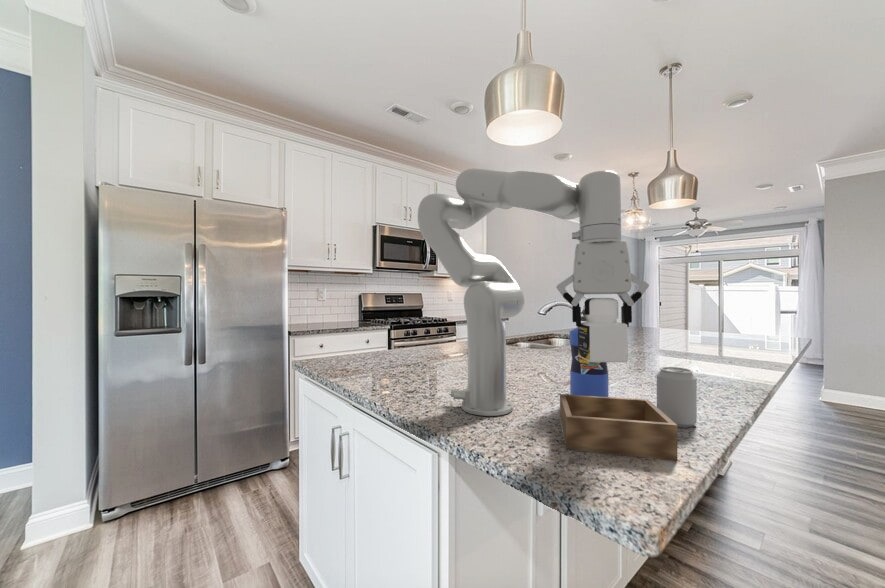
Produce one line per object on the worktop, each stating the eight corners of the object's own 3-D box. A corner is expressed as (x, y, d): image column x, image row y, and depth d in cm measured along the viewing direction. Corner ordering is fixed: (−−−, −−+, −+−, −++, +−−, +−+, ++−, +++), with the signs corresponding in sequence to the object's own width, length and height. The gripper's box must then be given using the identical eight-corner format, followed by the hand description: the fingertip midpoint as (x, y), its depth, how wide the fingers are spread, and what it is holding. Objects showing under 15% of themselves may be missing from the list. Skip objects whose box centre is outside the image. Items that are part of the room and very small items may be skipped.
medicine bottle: (577, 356, 76) (576, 298, 76) (613, 356, 75) (612, 297, 75) (589, 362, 68) (588, 298, 69) (628, 362, 68) (627, 297, 68)
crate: (566, 449, 67) (566, 416, 67) (559, 420, 83) (559, 394, 83) (677, 460, 63) (677, 425, 63) (648, 427, 78) (648, 399, 78)
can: (703, 430, 77) (703, 372, 77) (664, 427, 79) (664, 371, 79) (687, 418, 85) (687, 366, 85) (651, 416, 86) (651, 364, 86)
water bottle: (570, 399, 99) (570, 307, 99) (608, 403, 96) (608, 307, 96) (568, 409, 91) (568, 308, 91) (610, 414, 87) (610, 308, 87)
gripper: (554, 236, 71) (555, 327, 71) (655, 231, 66) (656, 328, 66) (553, 242, 78) (554, 324, 78) (644, 237, 73) (645, 325, 73)
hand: (601, 325), depth 72 cm, fingers closed on medicine bottle, 8 cm apart
